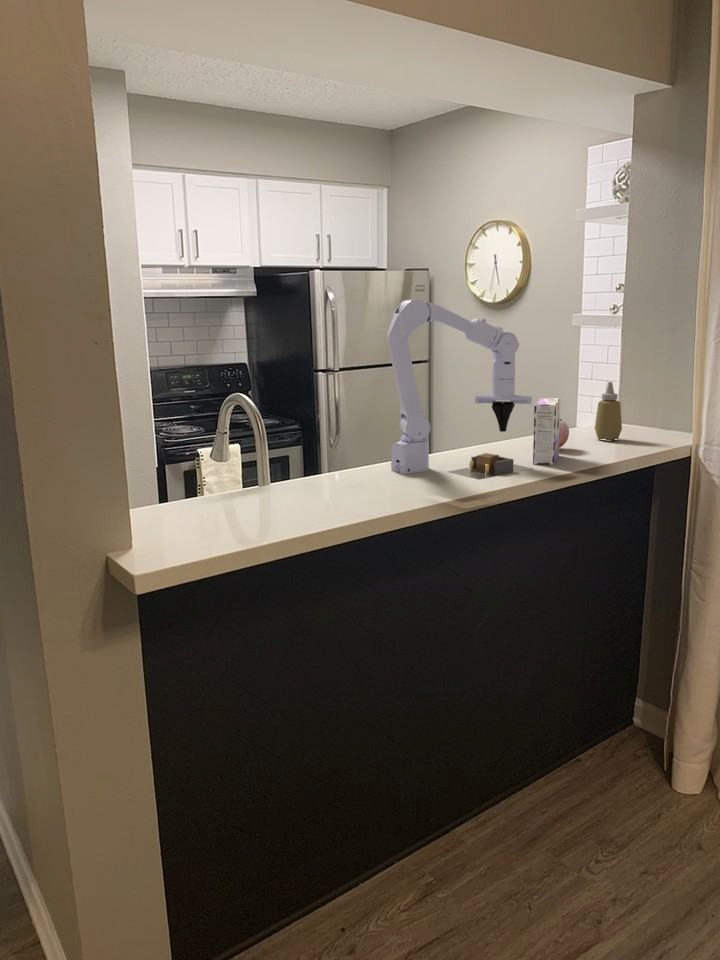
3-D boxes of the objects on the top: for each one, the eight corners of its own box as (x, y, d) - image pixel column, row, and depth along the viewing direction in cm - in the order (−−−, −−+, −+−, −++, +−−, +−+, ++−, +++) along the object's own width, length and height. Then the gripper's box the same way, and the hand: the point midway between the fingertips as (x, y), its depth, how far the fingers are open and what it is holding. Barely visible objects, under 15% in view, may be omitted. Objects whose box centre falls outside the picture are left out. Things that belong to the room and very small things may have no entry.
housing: (496, 474, 193) (496, 462, 192) (471, 468, 201) (471, 457, 200) (513, 470, 196) (513, 459, 196) (488, 465, 204) (488, 454, 203)
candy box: (538, 455, 222) (539, 397, 219) (559, 455, 220) (561, 397, 217) (532, 464, 209) (533, 403, 206) (554, 465, 208) (556, 404, 204)
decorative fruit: (540, 446, 235) (541, 413, 232) (568, 447, 233) (569, 413, 230) (539, 452, 226) (540, 418, 224) (568, 453, 224) (569, 418, 222)
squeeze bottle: (615, 437, 246) (618, 380, 242) (625, 441, 238) (628, 383, 234) (590, 438, 246) (592, 381, 242) (599, 442, 238) (602, 383, 234)
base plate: (478, 484, 188) (478, 469, 188) (446, 476, 198) (446, 461, 197) (534, 473, 199) (534, 459, 198) (501, 466, 208) (501, 452, 208)
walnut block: (489, 473, 195) (489, 457, 194) (476, 471, 197) (476, 455, 197) (498, 470, 197) (498, 454, 197) (485, 468, 200) (485, 453, 199)
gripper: (472, 380, 200) (472, 432, 203) (529, 380, 195) (528, 434, 198) (478, 377, 206) (478, 428, 209) (533, 378, 201) (532, 430, 204)
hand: (503, 431), depth 204 cm, fingers closed
